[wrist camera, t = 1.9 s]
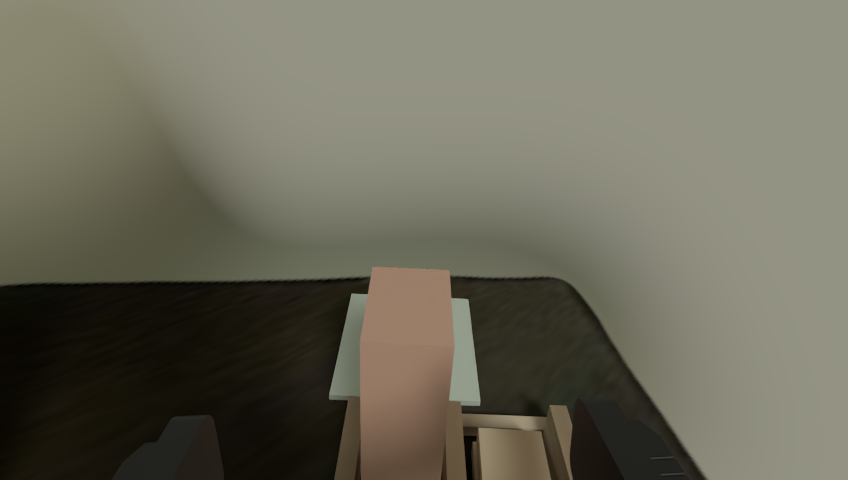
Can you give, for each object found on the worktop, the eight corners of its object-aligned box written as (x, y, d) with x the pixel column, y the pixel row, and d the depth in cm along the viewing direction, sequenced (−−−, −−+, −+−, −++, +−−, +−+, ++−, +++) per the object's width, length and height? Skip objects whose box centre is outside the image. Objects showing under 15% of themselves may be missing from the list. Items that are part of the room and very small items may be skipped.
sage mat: (329, 399, 41) (329, 394, 41) (351, 297, 54) (351, 293, 53) (479, 405, 42) (480, 401, 41) (467, 303, 54) (468, 299, 54)
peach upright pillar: (361, 571, 30) (359, 341, 22) (371, 479, 35) (372, 266, 27) (430, 574, 30) (454, 346, 22) (430, 481, 35) (449, 270, 27)
